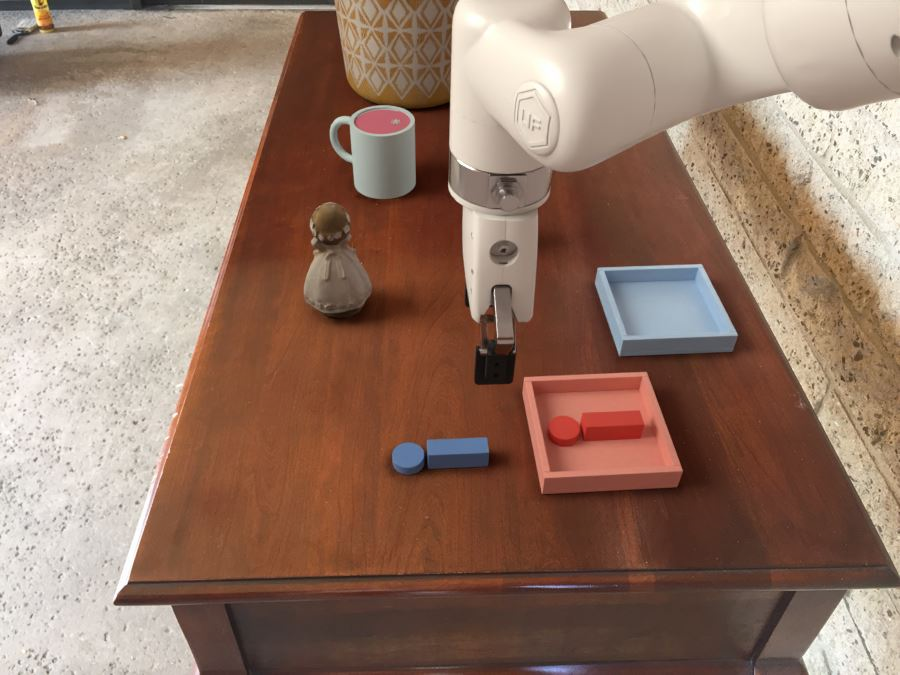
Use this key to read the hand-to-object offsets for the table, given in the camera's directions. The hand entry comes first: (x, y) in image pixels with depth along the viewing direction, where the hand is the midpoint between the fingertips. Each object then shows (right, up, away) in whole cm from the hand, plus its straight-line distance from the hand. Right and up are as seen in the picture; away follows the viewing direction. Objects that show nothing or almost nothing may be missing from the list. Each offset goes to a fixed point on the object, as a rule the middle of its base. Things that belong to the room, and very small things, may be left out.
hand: (487, 341), depth 68 cm
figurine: (-17, +4, +27) cm, 32 cm away
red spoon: (+12, -10, +12) cm, 19 cm away
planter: (-10, +46, +73) cm, 87 cm away
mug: (-15, +24, +49) cm, 57 cm away
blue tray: (+22, +3, +27) cm, 35 cm away
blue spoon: (-4, -12, +10) cm, 16 cm away
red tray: (+12, -10, +13) cm, 20 cm away
